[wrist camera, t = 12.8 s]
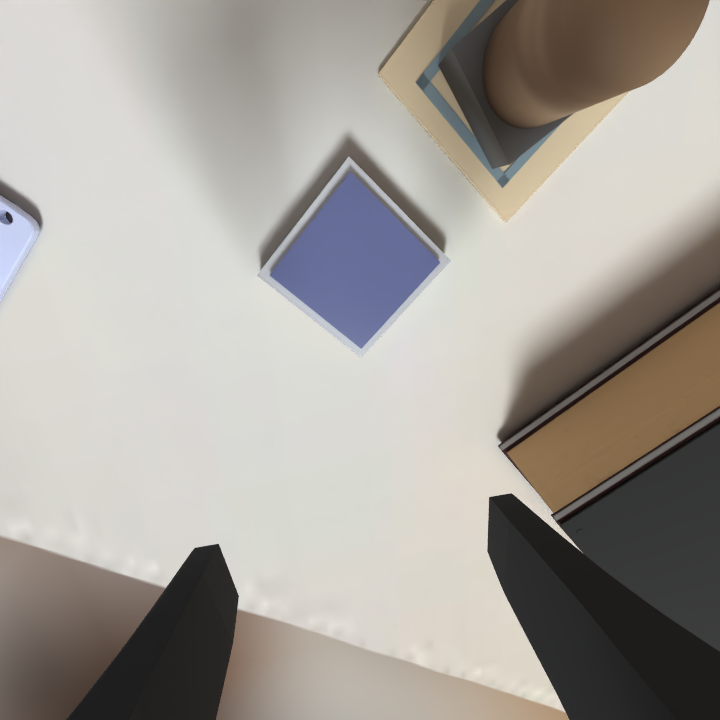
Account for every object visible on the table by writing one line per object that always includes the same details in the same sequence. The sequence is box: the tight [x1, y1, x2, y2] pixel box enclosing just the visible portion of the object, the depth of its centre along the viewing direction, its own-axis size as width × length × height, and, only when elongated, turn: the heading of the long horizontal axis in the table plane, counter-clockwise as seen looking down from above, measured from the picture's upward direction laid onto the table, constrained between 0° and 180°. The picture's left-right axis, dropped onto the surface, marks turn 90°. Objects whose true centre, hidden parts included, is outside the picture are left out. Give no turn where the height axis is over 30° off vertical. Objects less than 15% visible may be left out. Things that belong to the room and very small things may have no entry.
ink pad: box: [257, 157, 451, 358], centre depth 16 cm, size 6×6×1 cm
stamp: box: [438, 0, 710, 169], centre depth 11 cm, size 4×4×6 cm
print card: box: [378, 0, 629, 222], centre depth 14 cm, size 8×7×1 cm
